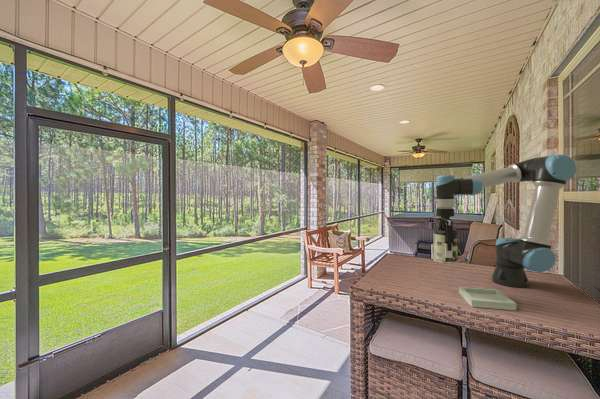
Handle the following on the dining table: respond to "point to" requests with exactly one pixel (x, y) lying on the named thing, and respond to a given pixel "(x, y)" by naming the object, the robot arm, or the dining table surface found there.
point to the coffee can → (440, 247)
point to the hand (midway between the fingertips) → (445, 254)
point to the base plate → (487, 298)
